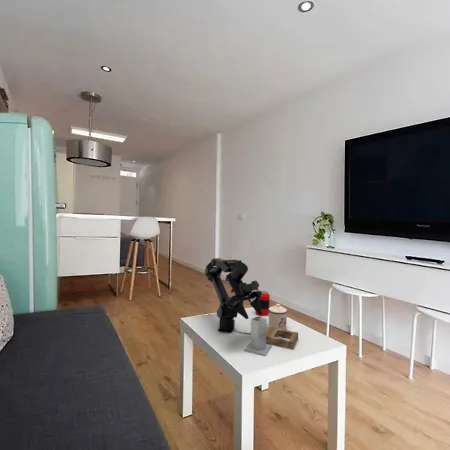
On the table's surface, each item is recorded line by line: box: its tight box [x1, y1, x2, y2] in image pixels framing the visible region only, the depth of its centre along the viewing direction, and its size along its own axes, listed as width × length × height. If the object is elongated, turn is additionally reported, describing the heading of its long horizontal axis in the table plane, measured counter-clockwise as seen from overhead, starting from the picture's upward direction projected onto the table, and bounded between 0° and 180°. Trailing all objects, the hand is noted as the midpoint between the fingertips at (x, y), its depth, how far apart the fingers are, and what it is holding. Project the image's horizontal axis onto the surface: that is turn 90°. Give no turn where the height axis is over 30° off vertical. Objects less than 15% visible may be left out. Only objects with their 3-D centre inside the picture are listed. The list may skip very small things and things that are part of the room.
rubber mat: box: [243, 341, 273, 357], centre depth 119 cm, size 9×9×1 cm
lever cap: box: [250, 315, 268, 351], centre depth 118 cm, size 4×5×12 cm
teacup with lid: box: [267, 303, 288, 330], centre depth 142 cm, size 12×9×12 cm
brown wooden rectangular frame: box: [266, 326, 299, 350], centre depth 127 cm, size 14×11×3 cm
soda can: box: [254, 290, 270, 317], centre depth 160 cm, size 8×8×12 cm
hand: (254, 316), depth 121 cm, fingers open, 9 cm apart
